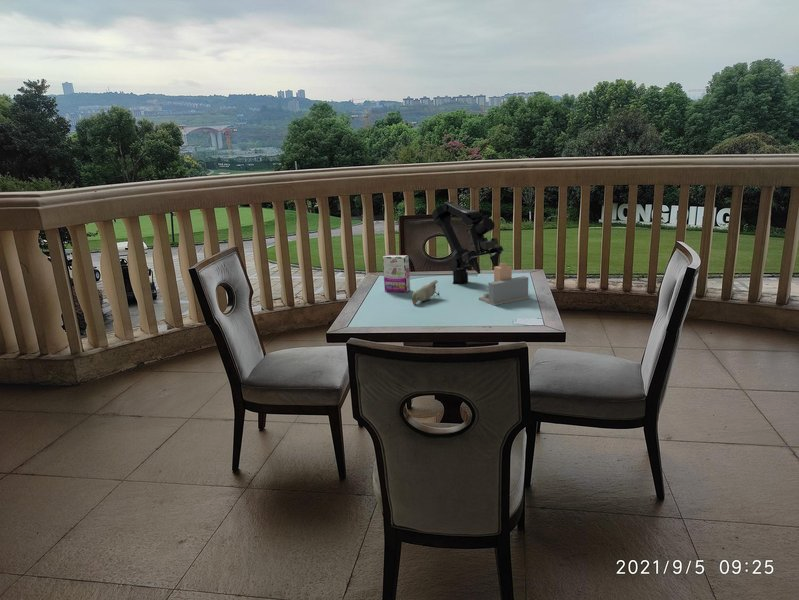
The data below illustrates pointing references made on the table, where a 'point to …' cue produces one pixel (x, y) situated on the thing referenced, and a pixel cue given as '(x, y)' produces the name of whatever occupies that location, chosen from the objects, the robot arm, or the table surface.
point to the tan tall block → (502, 272)
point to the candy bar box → (396, 273)
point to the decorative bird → (424, 292)
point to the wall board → (506, 291)
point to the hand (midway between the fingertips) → (488, 271)
